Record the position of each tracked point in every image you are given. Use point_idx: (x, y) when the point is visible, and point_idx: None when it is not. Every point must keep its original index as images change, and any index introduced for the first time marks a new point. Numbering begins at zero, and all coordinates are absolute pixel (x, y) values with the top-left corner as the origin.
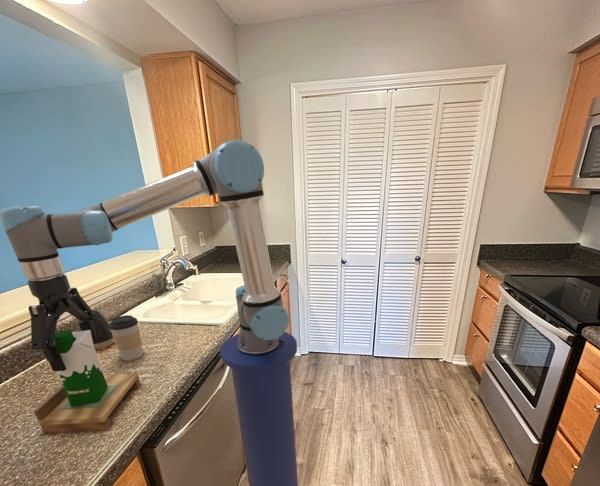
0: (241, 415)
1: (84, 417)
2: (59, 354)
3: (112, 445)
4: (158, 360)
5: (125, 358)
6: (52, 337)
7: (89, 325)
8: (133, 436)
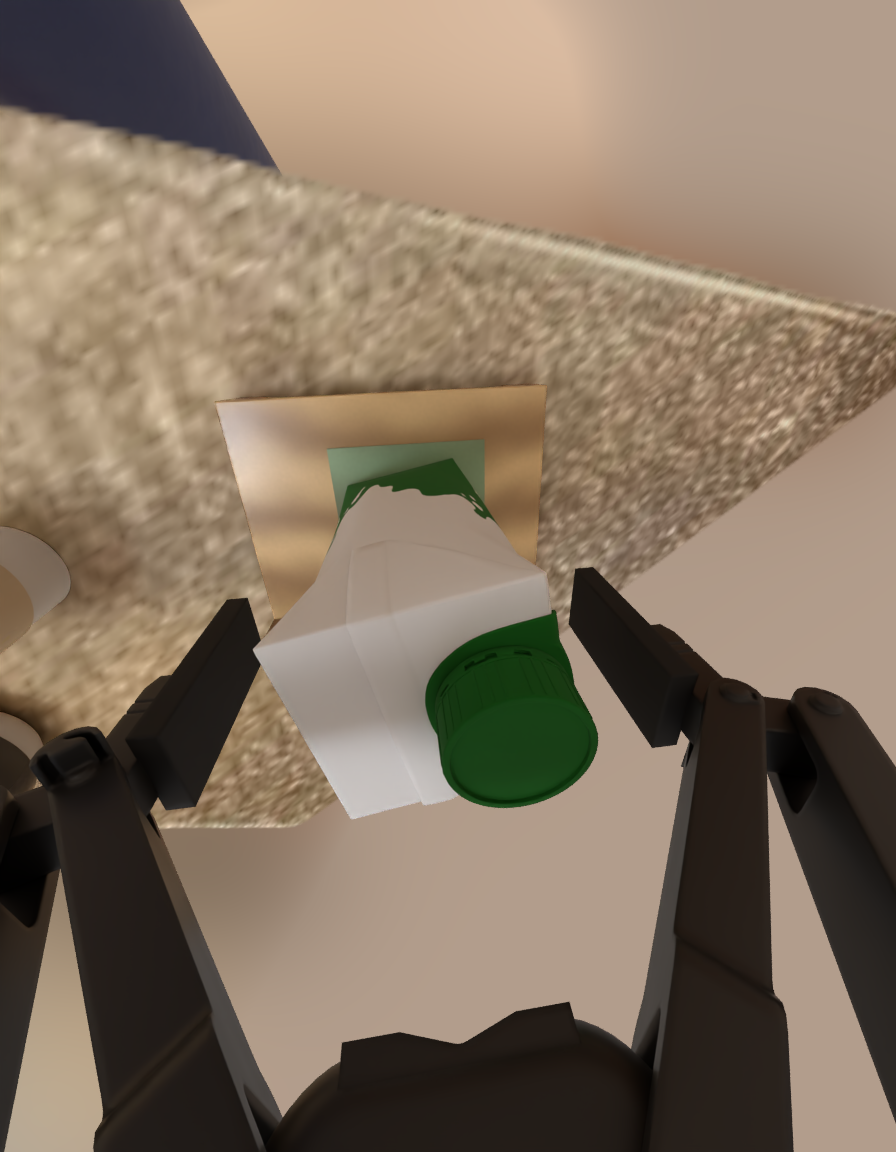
0: (105, 67)
1: (538, 460)
2: (634, 626)
3: (611, 310)
4: (4, 409)
5: (63, 580)
6: (729, 745)
7: (175, 708)
8: (578, 239)
